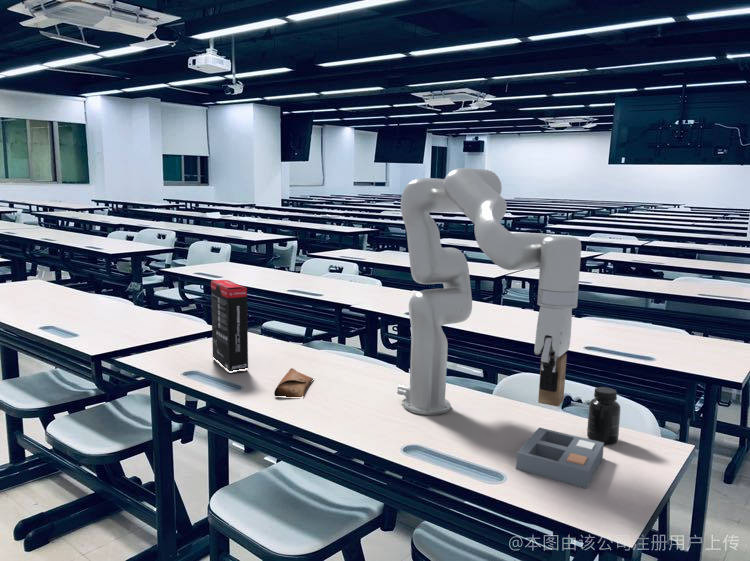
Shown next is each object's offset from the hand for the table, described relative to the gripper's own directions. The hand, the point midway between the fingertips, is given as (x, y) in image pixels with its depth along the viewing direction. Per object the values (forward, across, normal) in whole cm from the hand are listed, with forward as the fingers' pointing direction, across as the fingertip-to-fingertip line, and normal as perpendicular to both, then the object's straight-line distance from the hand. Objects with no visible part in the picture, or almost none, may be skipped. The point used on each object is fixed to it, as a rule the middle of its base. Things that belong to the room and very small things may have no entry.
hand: (551, 386), depth 112 cm
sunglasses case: (+18, -7, -74) cm, 76 cm away
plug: (+3, 0, 0) cm, 3 cm away
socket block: (+17, -4, +2) cm, 18 cm away
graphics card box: (+17, -10, -104) cm, 106 cm away
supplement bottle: (+18, -23, +7) cm, 30 cm away
